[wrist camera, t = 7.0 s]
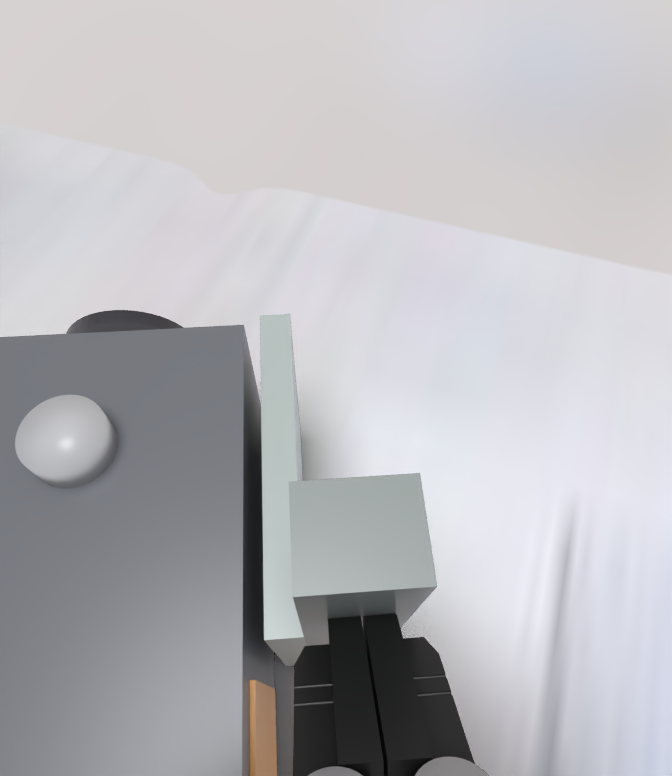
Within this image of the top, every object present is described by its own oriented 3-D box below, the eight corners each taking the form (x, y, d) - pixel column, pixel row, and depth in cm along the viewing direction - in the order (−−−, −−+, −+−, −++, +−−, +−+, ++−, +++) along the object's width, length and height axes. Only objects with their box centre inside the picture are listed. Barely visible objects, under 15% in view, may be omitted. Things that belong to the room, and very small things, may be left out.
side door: (372, 659, 23) (437, 586, 10) (286, 666, 23) (231, 602, 10) (350, 429, 28) (374, 170, 15) (279, 433, 28) (236, 175, 14)
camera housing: (286, 1046, 18) (240, 1429, 8) (-40, 1082, 17) (-486, 1535, 8) (271, 409, 29) (245, 256, 19) (69, 421, 28) (-65, 270, 19)
